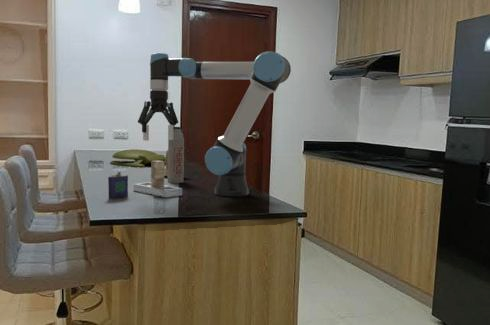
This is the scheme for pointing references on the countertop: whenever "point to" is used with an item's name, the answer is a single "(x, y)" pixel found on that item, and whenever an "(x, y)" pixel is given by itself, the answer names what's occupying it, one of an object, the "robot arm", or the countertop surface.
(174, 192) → the white compartment tray
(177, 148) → the thermos bottle
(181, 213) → the countertop surface
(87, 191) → the countertop surface
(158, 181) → the birch peg
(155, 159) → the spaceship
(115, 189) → the flask
